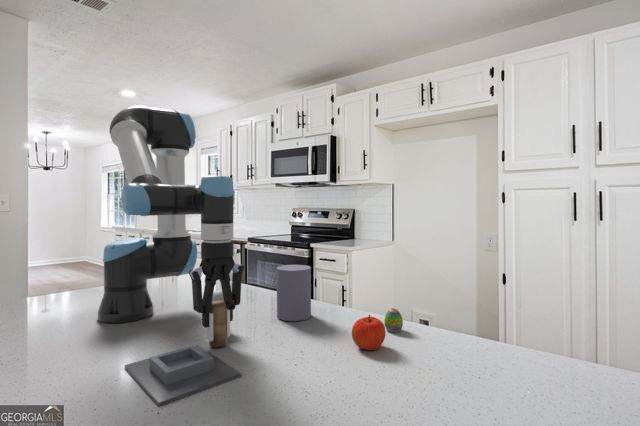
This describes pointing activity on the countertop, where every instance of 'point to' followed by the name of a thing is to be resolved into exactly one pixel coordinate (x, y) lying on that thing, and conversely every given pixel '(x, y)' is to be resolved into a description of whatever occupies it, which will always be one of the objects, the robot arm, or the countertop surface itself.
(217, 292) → the lightbulb
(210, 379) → the socket
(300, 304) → the container
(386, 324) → the egg
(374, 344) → the apple
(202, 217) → the robot arm
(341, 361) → the countertop surface
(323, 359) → the countertop surface
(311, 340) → the countertop surface
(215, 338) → the peg
